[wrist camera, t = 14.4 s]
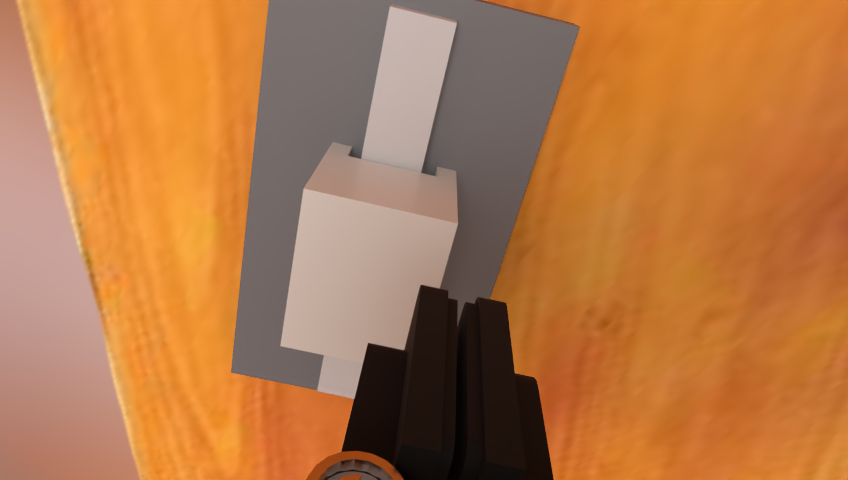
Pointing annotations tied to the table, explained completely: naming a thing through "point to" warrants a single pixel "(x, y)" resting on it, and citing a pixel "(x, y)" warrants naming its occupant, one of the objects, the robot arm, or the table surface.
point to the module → (365, 253)
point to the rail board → (391, 140)
